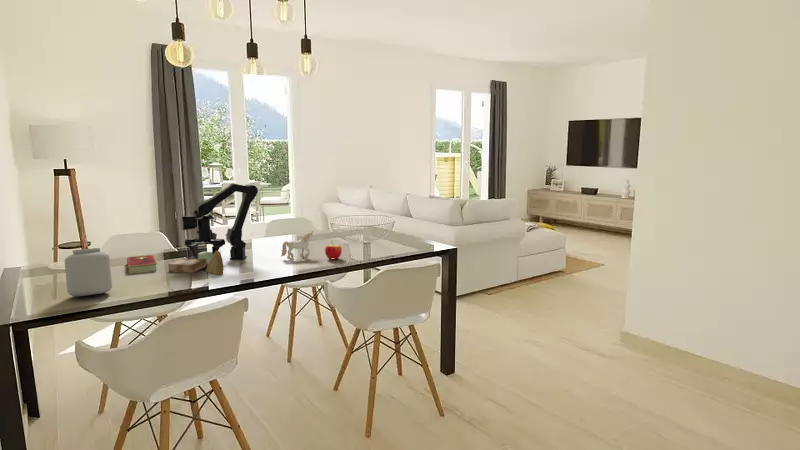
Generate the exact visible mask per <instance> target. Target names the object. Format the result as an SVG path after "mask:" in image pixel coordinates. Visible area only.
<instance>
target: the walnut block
mask: <svg viewBox="0 0 800 450" xmlns="http://www.w3.org/2000/svg"><path fill="white" fill-rule="evenodd" d="M205 267H206V268H207V264H206V259H196V258H192V257H191V258H189V257H186V258H185V257H182V258H180V259H177V260H175V261H173V262H169V263H168V272H171V273H172V272H175V273H196V272H197V271H199V270H201V269H204V268H205Z"/></svg>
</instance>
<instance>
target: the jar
mask: <svg viewBox="0 0 800 450" xmlns="http://www.w3.org/2000/svg"><path fill="white" fill-rule="evenodd" d="M83 233H84V234H83V235H84V236H86V231H84V232H83ZM87 241H88V239H87V238H85V241H84V242H85V243H87ZM85 246H86V247H87V246H88V244H86V245H85ZM72 253H73V254H71V255H68V256H66V257H65V259H64V268H65V281H66V289H67V294H68V295H69V296H72V297H84V296H91V295H92V296H93V295H98V294H99V295H100V294H104V293H107V292H110V291H111V290H112V289H113V281H112V279H113V278H112V268H111V257H110V255H109V254H108V253H107V252H102V251H101V247H97V248H96V247H94V248H83V249H75V250H74V249H73V250H72Z"/></svg>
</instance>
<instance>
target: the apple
mask: <svg viewBox="0 0 800 450" xmlns="http://www.w3.org/2000/svg"><path fill="white" fill-rule="evenodd" d="M331 243H332V244H330V245H329V244H328V245H326V246H325V248H324V251H325V252H324V253H325V255H326V258H328V259H329V260H333V261H335V260H338V259H339V258H340V257H341V254H342V252H343V251H342V246H341V245H340V244H334V242H333V241H332V240H331ZM338 257H339V258H338ZM331 258H335V259H331Z"/></svg>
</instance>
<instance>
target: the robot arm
mask: <svg viewBox="0 0 800 450" xmlns="http://www.w3.org/2000/svg"><path fill="white" fill-rule="evenodd" d="M236 192H239V193H241V202H240V205H239V207H238V208H239V209H238V211H237V215H236V217H235V220H234V223H233V226H232V227H231V228H227V232H226V234H225V238H226V240H225V239H224V238H217V236H218V235H217V234H218V233H215V232H213V230H212V229H211V220H214V219H215V217H214V216H212V214H211V212H212V211H214V209H215V208H216V207H217V205H218V204H220V203H222V202H223V201H224V200H225V199H227V198H229V197H230V196H232V195H233V194H235V193H236ZM258 192H259V189H258V187H257V186H256V185H253V184H249V183H248V184H245V185H243V184H237V183H234V182H233V183H230V184H229V185H228V186H227V187H225V188H223V189H222V190H221V191H219V192H218V193H216V194H214V196H212V197H210V198H208V199H205V200H203V201H201V202H199V203H197V204H196V206H195V210H194V211H193V213H192V214H191V215H187V216H186V215H181V219H180V229H181V230H182V231H189V230H195V229H196V228H197V230H196V234H197V235H198V237H189V238H186V239H185V240H184V241H183V242H184V246H186V247H187V248H189V250H190V252H192V253H193V256H194V259H198V254H199V249H198V247H199V245H212V247H211V252H213V254H214V253H215V251H220V250H219V249H221V247H223V246H225V245H226V242H227V243H229V244H230V246H231V247H230V250H229V254H230V258H229V260H239V261H241V260H244V259H246V258H247V257H248V256H247V255H246V245H247V242H245V241H243V240H242V237H243V227H244V224H245V220H246V218H247V215H248V212H249V209H250V205H251V204H252V202H253V201H254V200H255V198H256V197H257V195H258Z"/></svg>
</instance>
